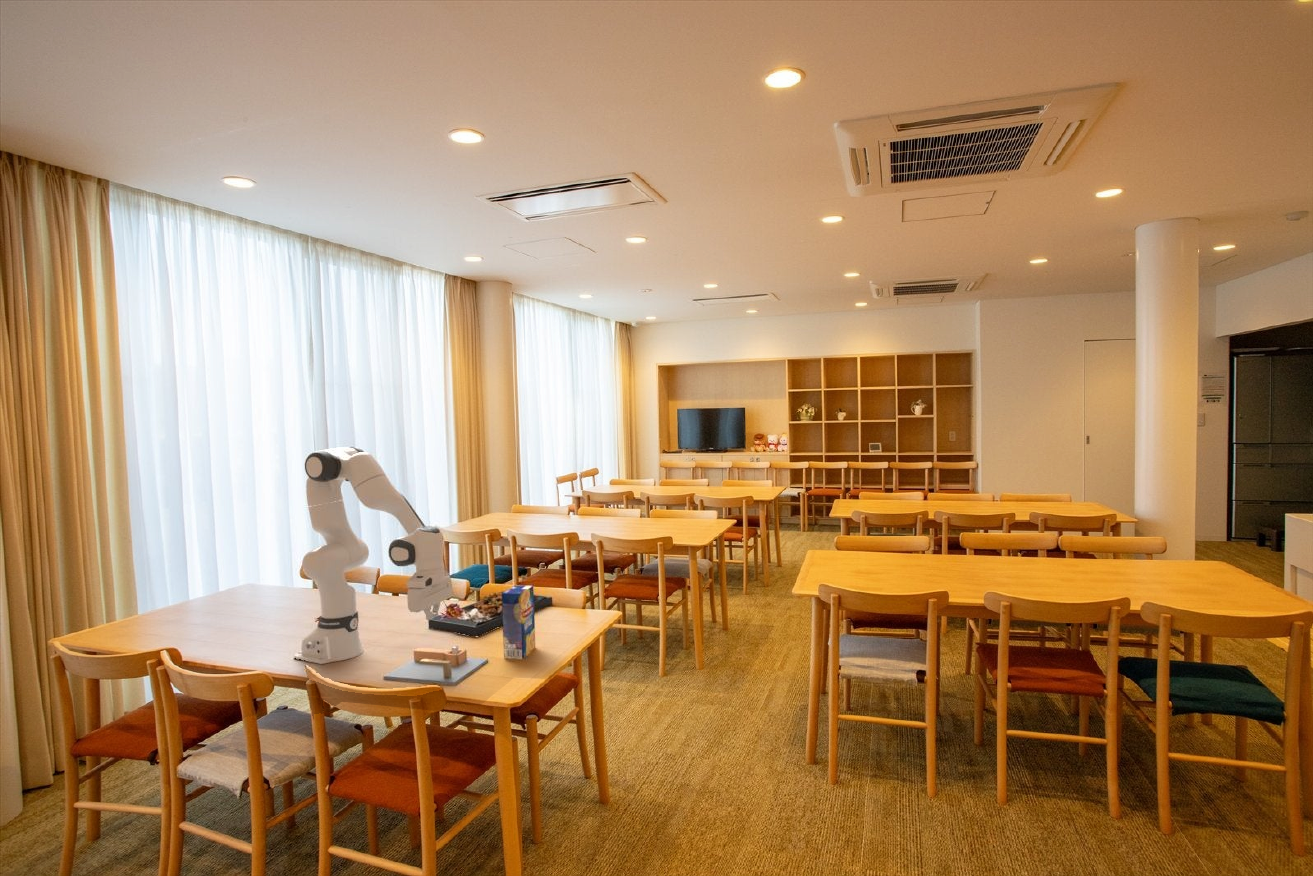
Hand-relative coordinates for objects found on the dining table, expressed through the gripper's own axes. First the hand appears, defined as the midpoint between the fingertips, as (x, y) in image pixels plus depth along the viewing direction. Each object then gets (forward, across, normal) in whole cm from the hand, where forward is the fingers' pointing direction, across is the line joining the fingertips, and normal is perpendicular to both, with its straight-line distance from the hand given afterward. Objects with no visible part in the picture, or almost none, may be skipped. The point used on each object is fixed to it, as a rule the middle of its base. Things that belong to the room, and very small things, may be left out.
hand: (432, 618), depth 224 cm
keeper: (+14, +12, +8) cm, 20 cm away
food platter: (+16, -51, -6) cm, 54 cm away
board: (+15, +5, +4) cm, 17 cm away
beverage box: (+15, -14, +24) cm, 32 cm away
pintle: (+14, 0, +8) cm, 16 cm away
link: (+14, 0, 0) cm, 14 cm away
